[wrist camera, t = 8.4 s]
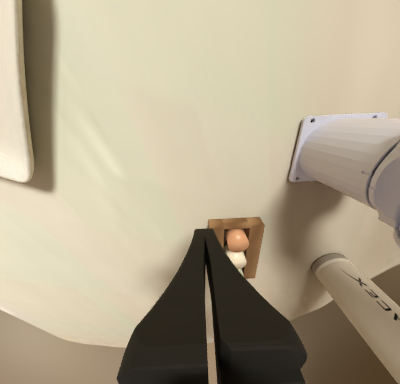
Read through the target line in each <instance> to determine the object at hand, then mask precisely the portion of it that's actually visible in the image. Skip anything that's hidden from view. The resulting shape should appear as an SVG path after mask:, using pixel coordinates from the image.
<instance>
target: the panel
mask: <svg viewBox="0 0 400 384" xmlns="http://www.w3.org/2000/svg"><path fill="white" fill-rule="evenodd" d="M264 227H265V225H264V223H263V222H262V220H261V219H260V217H252V218H231V219H210V220H209V229H210V228H212V229H214V232H215V234H216V236H217V238H218V240H219V242H220V244H221V246H222V247H223V246H224V229H243V228H245V234H246V237H247V239H248V241H249V246H248V248H247V249H246V250H245V251H243V253H244V256H245V258H246V262H247V263H246V265H245V266H244V267H243V268H242V271H243V275H244V278H245V279H249V278H255V274H256V269H257V264H258V259H259V253H260V248H261V243H262V237H263V232H264Z"/></svg>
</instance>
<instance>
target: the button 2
mask: <svg viewBox="0 0 400 384" xmlns="http://www.w3.org/2000/svg"><path fill="white" fill-rule="evenodd" d="M225 236H226V240H227V244H228V248H229V250H231V251H232V252H236V253H239V252H243V251H245V250H246V249H247V248H248V246H249V241H248V239H247V237H246V234H245V232H244V230H243V229H225Z"/></svg>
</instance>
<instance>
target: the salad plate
mask: <svg viewBox="0 0 400 384" xmlns="http://www.w3.org/2000/svg"><path fill="white" fill-rule="evenodd" d="M33 173H34V157H33V149H32V140H31V132H30V124H29V115H28V103H27V91H26V79H25V66H24V47H23V18H22V0H0V177H3V178H6V179H9V180H13V181H17V182H21V183H26V182H29V181H30V180H31V178H32V176H33Z"/></svg>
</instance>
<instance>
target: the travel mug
mask: <svg viewBox="0 0 400 384" xmlns="http://www.w3.org/2000/svg"><path fill="white" fill-rule="evenodd" d="M312 272H313V273H314V274H315V276H316V277H317V278H318V279H319V281H320V282H321V284H322V285H323V286H324V287H325V289H326V290H327V291H328V293H329V294H330V295H331V297H332V298H333V299H334V301H335V302H336V303H337V304H338V306H339V307H340V308H341V310H342V311H343V312H344V313H345V315H346V316H347V318H348V319H349V320H350V321H351V323H352V324H353V325H354V327H355V328H356V329H357V330H358V332H359V333H360V335H361V336H362V337H363V338H364V340H365V341H366V342H367V344H368V345H369V346H370V348H371V349H372V350H373V351H374V353H375V354H376V355H377V357H378V358H379V359H380V361H381V362H382V363H383V364H384V366H385V367H386V368H387V370H388V371H389V372H390V374H391V375H392V376H393V377H394V379H395V380H396V382H397V383H398V384H400V307H399V306H398V305H397V304H396V303H395V302H394V301H393V300H391V299H390V298H389V297H388V296H387V295H386V294H385V293H384V292H383V291H382V290H381V289H380V288H378V287H377V286H376V285H375V284H374V283H373V282H372V281H371V280H370V279H369V278H368V277H366V276H365V275H364V274H363V273H362V272H361V271H360V270H359V269H358V268H357V267H356V266H355V265H353V264H352V263H351V262H350V261H349V260H348V259H347V258H346V257H345V256H343V255H341V254H336V253H335V254H328V255H325V256H322V257H320V258H319V259H318V260H316V261H315V262H314V264H313V266H312Z"/></svg>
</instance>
